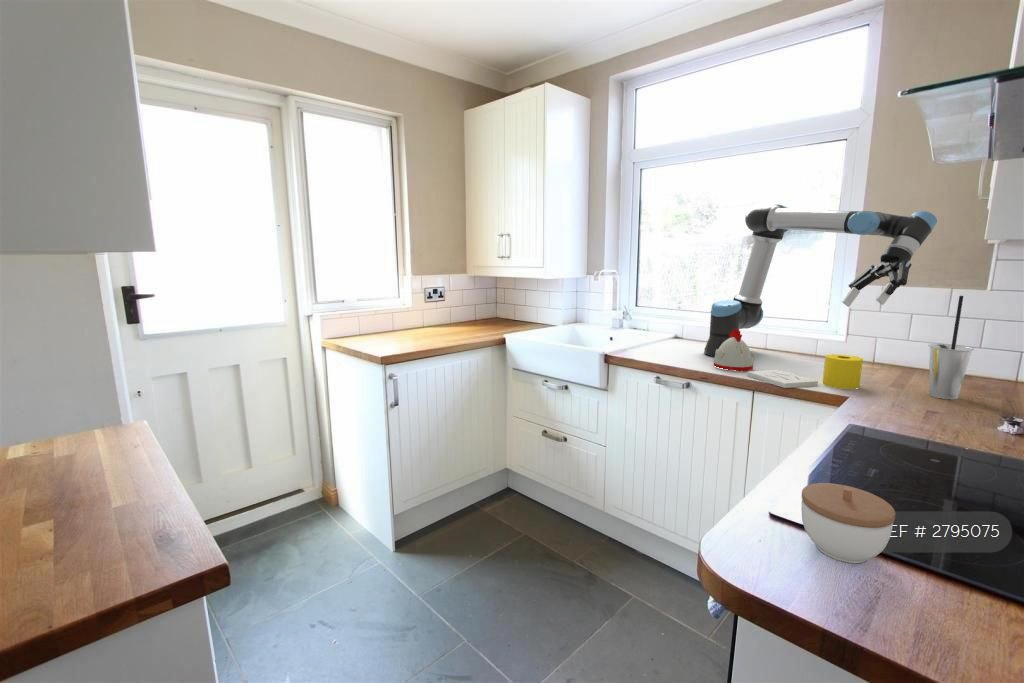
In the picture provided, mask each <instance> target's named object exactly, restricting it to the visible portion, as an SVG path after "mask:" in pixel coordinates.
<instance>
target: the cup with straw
mask: <svg viewBox="0 0 1024 683" xmlns="http://www.w3.org/2000/svg"><path fill="white" fill-rule="evenodd" d="M963 301H964V295H959V296H958V303H957V308H956V314H955V321H954V328H953V335H952V342H951V344H947V343H946V344H945V343H931V344H930V343H929V344H928V345H927V346H928V347H929V365H928V366H929V367H928V368H929V369H928V370H929V372H928V375H929V383H928V384H929V386H928V388H929V389H928V390H929V391H928V396H930V397H932V396H934V397H933V398H935V397H937V398H936V399H939V398H942V400H947V399H951V400H950V401H953V400H955V399H956V400H958V399H959V398H958V397H959V395H960V391H961V388H962V385H963V381H964V378H965V375H966V372H967V368H968V364H969V361H970V359H971V355H972V351H975V348H974V347H970V346H964V345H958V344H957V340H958V339H957V338H958V332H959V327H960V320H961V313H962V308H963ZM956 400H955V401H956Z"/></svg>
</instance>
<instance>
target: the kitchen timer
mask: <svg viewBox="0 0 1024 683" xmlns="http://www.w3.org/2000/svg"><path fill="white" fill-rule="evenodd" d="M742 336H743V334H741V330H739V331H738V330H736V329H733V331H731V334H729V339H727V340H726V341H724V342H723V343H722V344H721V346H720V347H719V349H716V353H715V357H714V359H713V367H714V366H716V367H719V368H723V369H728V370H736V371H735V372H750V371H752V370H753V369H754V360H753V357H754V352H753V350H752V349H750V348H749V347H748V344H747V343H746V342H745V340H743V339H742ZM728 370H727V371H728ZM749 370H750V371H749Z"/></svg>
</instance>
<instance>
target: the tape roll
mask: <svg viewBox="0 0 1024 683" xmlns="http://www.w3.org/2000/svg"><path fill="white" fill-rule="evenodd" d="M824 357H825V358H824V366H823V375H822V383H823V384H822V385H824V386H826V387H829V386H830V387H829V388H833V387H835V388H834V389H839V388H841V390H857V389H856V388H858V389H860V384H861V375H862V367H863V358H862V357H859V356H854V355H850V354H849V355H847V354H831V353H830V354H826V355H825V356H824Z"/></svg>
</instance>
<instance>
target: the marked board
mask: <svg viewBox="0 0 1024 683" xmlns="http://www.w3.org/2000/svg"><path fill="white" fill-rule="evenodd" d="M747 377H750V378H753V379H756V380H759V381H761V382H766V383H768V384H771V385H775V386H777V387H781V388H783V389H788V388H789V389H792V388H803V387H815V386H816V385H817V386H819V380H816V379H812V378H810V377H805V376H802V375H798V374H795V373H792V372H788V371H784V370H781V369H771V370H755V371H752V370H751V371H747ZM817 386H816V387H817Z"/></svg>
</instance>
